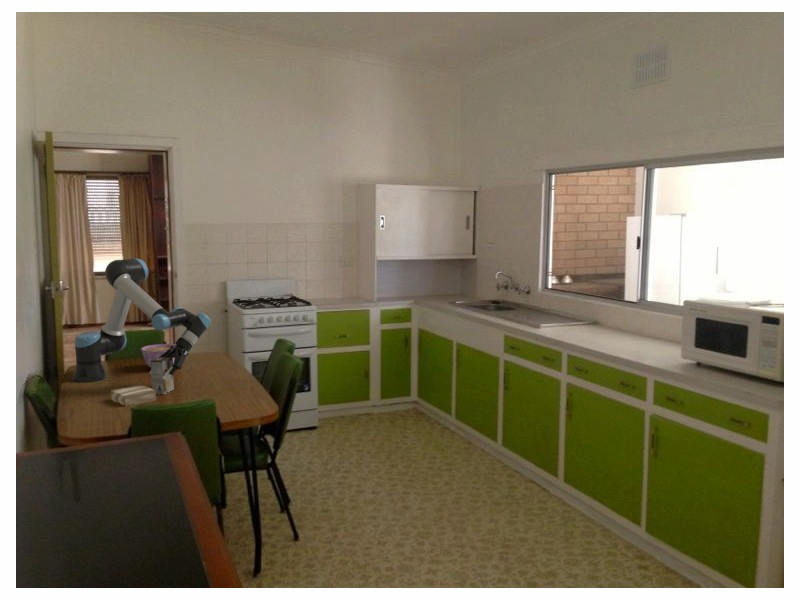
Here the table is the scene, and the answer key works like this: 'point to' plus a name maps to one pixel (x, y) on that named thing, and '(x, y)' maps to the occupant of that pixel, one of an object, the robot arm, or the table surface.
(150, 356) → the bowl of food
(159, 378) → the coffee box
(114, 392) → the birch block
